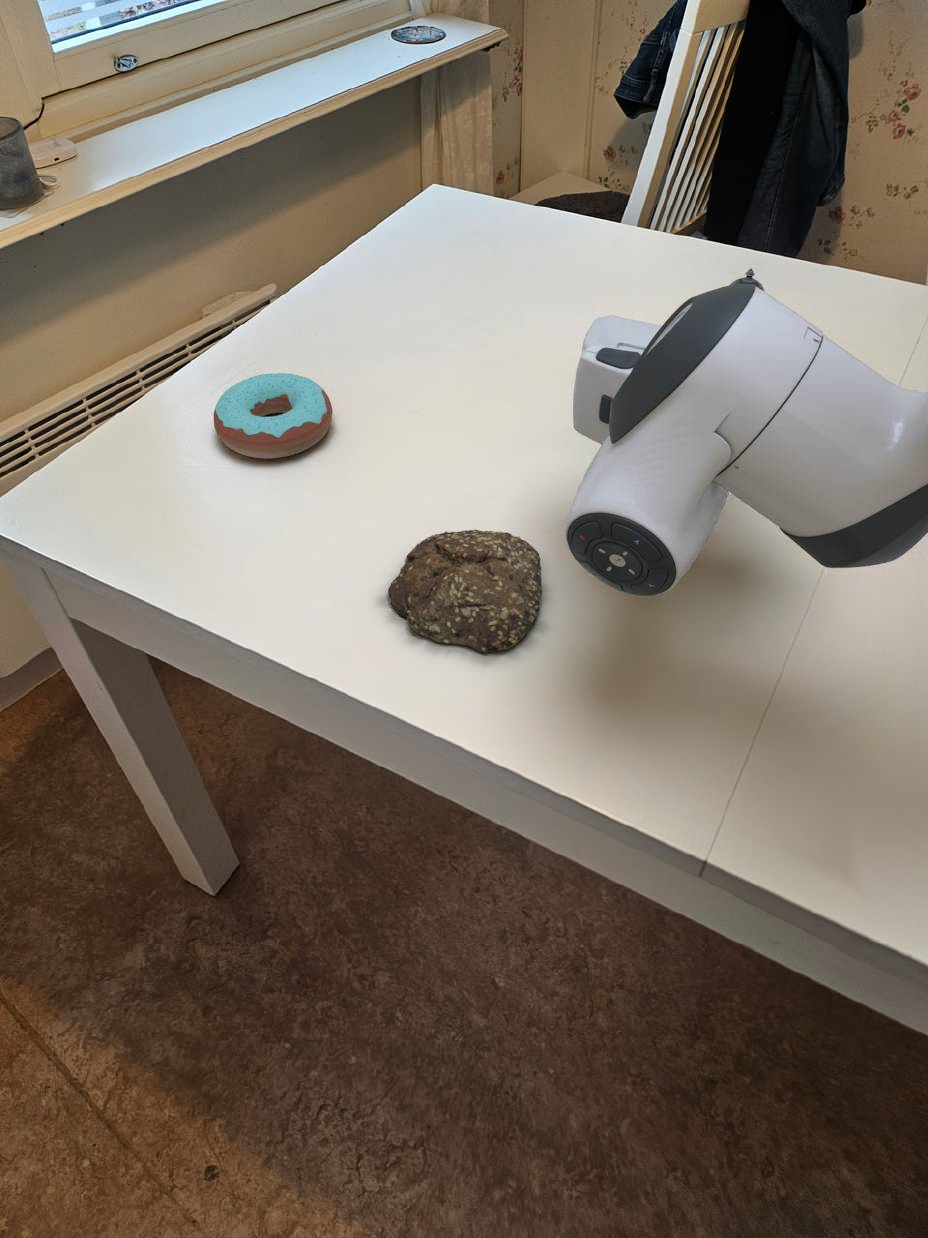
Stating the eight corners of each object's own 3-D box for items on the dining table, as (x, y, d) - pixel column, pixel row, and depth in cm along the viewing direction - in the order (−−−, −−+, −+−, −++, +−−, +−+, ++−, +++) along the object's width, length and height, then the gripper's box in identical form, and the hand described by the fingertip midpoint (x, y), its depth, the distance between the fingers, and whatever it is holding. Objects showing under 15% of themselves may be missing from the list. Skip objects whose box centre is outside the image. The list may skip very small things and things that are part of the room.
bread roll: (553, 557, 76) (557, 513, 73) (528, 662, 68) (531, 619, 64) (412, 536, 78) (409, 493, 75) (372, 636, 70) (366, 592, 66)
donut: (354, 442, 88) (350, 408, 85) (242, 481, 84) (234, 446, 81) (306, 387, 95) (301, 354, 92) (201, 420, 91) (192, 387, 88)
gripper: (859, 418, 55) (887, 320, 64) (559, 348, 62) (621, 268, 70) (829, 496, 60) (859, 395, 68) (553, 424, 66) (612, 340, 75)
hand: (737, 331), depth 69 cm, fingers closed on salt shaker, 3 cm apart
